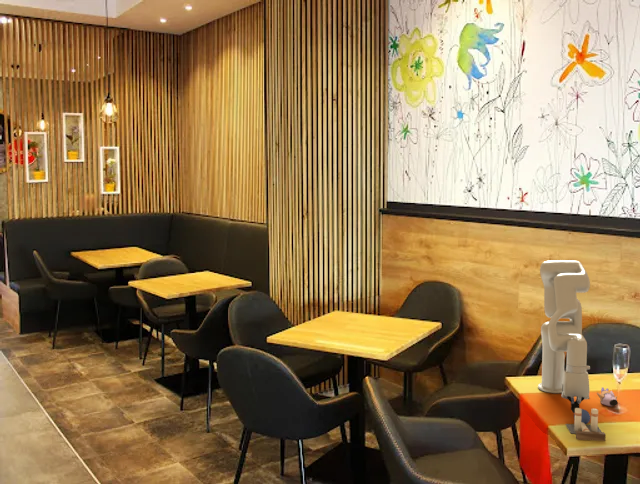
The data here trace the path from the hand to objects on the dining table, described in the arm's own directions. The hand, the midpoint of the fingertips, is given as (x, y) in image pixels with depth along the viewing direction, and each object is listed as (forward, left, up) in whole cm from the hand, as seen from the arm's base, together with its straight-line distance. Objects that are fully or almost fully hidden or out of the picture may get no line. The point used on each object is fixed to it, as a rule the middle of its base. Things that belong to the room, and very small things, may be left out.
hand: (574, 412), depth 266 cm
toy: (-16, +18, -2) cm, 24 cm away
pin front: (+13, -1, 0) cm, 13 cm away
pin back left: (+17, +3, -2) cm, 17 cm away
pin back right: (+17, -3, -2) cm, 17 cm away
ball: (+9, +1, +2) cm, 9 cm away
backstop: (+24, 0, -2) cm, 24 cm away
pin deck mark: (+14, 0, -2) cm, 15 cm away
